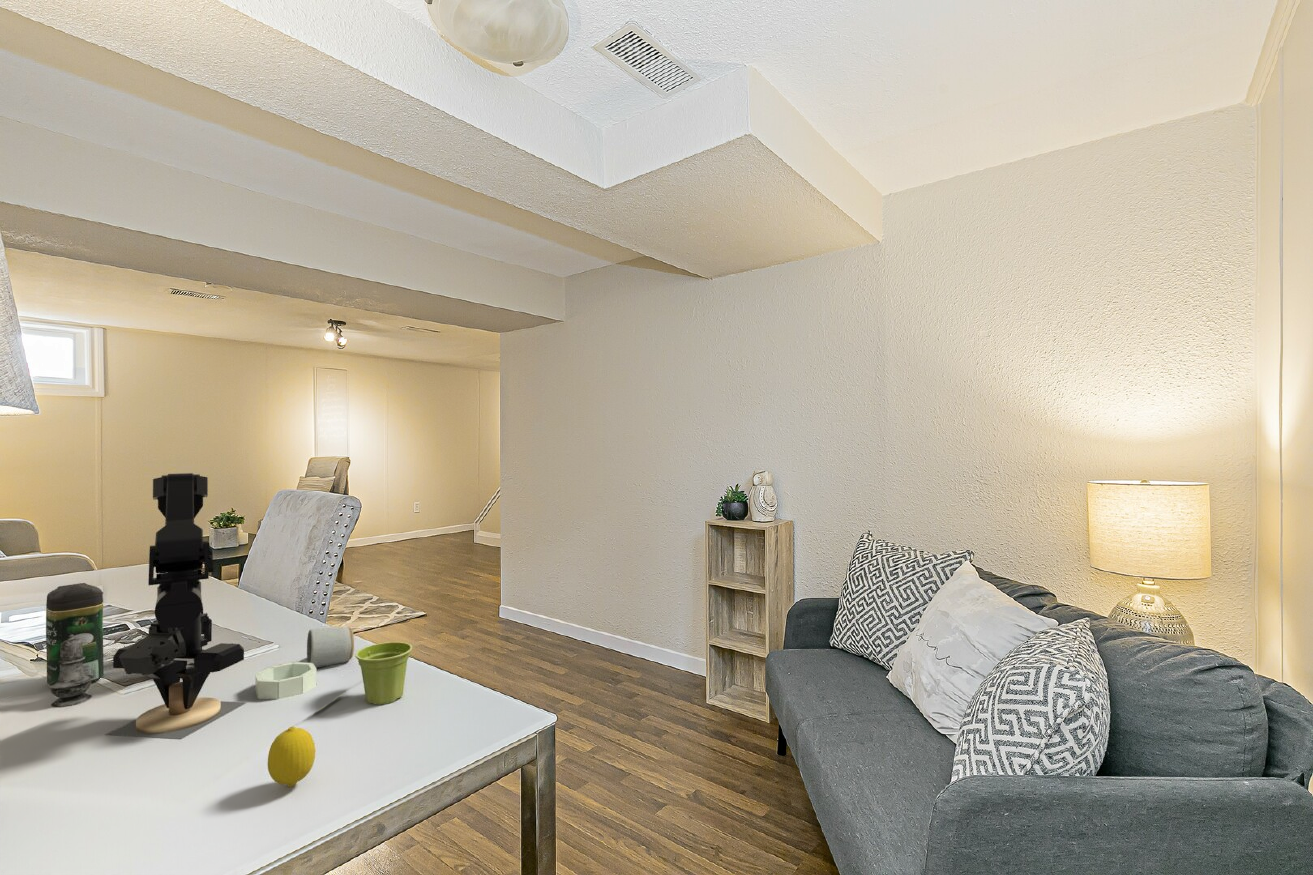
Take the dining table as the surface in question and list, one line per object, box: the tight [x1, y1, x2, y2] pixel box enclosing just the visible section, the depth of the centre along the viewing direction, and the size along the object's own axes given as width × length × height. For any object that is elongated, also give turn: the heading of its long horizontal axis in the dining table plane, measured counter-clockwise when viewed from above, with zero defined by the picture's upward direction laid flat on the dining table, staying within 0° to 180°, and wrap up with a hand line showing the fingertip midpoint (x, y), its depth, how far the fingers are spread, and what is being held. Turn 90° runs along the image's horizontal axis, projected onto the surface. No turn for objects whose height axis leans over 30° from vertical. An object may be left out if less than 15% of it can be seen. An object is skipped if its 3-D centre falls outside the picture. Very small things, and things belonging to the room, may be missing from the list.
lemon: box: [267, 726, 316, 788], centre depth 83 cm, size 6×6×8 cm
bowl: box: [254, 661, 317, 700], centre depth 113 cm, size 9×9×4 cm
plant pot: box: [354, 641, 413, 706], centre depth 111 cm, size 9×9×9 cm
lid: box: [135, 681, 221, 734], centre depth 101 cm, size 11×11×5 cm
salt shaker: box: [48, 634, 94, 708], centre depth 110 cm, size 6×6×12 cm
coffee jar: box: [45, 582, 105, 685], centre depth 119 cm, size 10×8×19 cm
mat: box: [104, 700, 247, 740], centre depth 101 cm, size 13×13×1 cm
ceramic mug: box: [306, 626, 355, 669], centre depth 130 cm, size 11×8×8 cm
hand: (179, 707), depth 101 cm, fingers closed on lid, 3 cm apart
